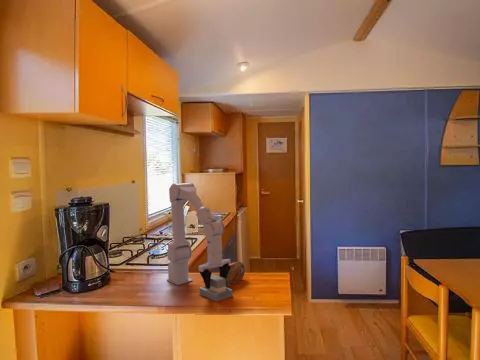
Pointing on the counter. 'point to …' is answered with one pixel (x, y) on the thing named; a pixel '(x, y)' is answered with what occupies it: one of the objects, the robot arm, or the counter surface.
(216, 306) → the counter surface
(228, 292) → the grey rectangular tray
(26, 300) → the counter surface
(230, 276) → the tin
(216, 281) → the block
